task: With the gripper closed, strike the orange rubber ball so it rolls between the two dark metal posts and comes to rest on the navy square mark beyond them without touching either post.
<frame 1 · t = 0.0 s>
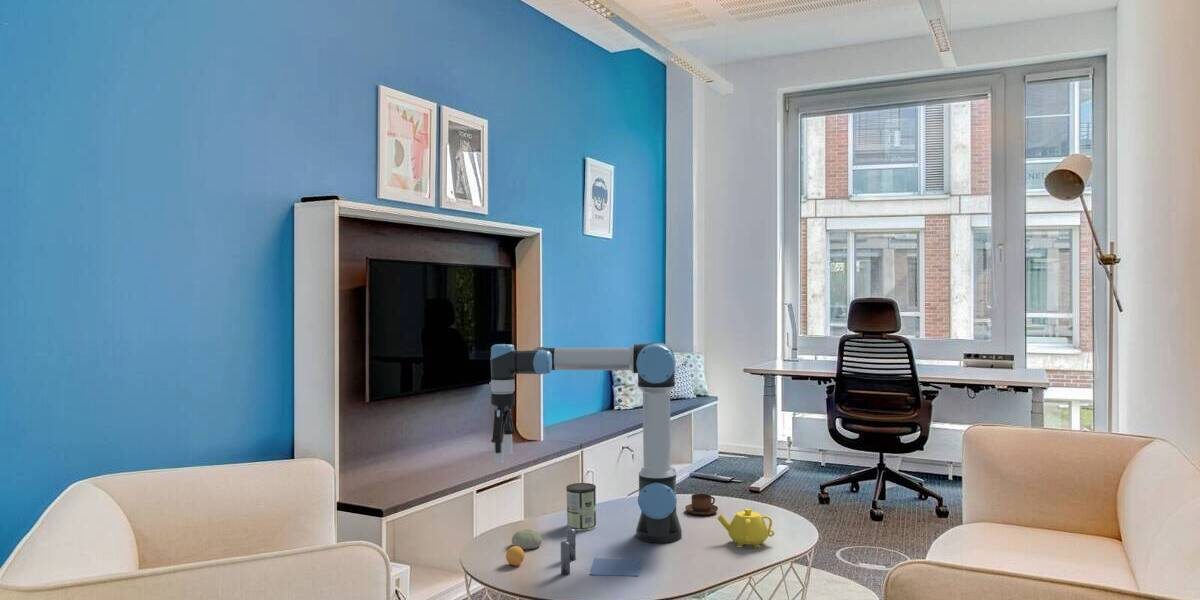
hand: (503, 458, 253), 28 cm above the table, tool pointing down, fingers open, 13 cm apart
post 2: (571, 559, 239), on the table
post 1: (565, 573, 227), on the table
ball: (515, 555, 234), on the table
cup and saucer: (701, 513, 290), on the table
teapot: (745, 543, 254), on the table
coffee can: (581, 527, 273), on the table
sea urchin shell: (526, 547, 252), on the table
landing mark: (615, 567, 232), on the table
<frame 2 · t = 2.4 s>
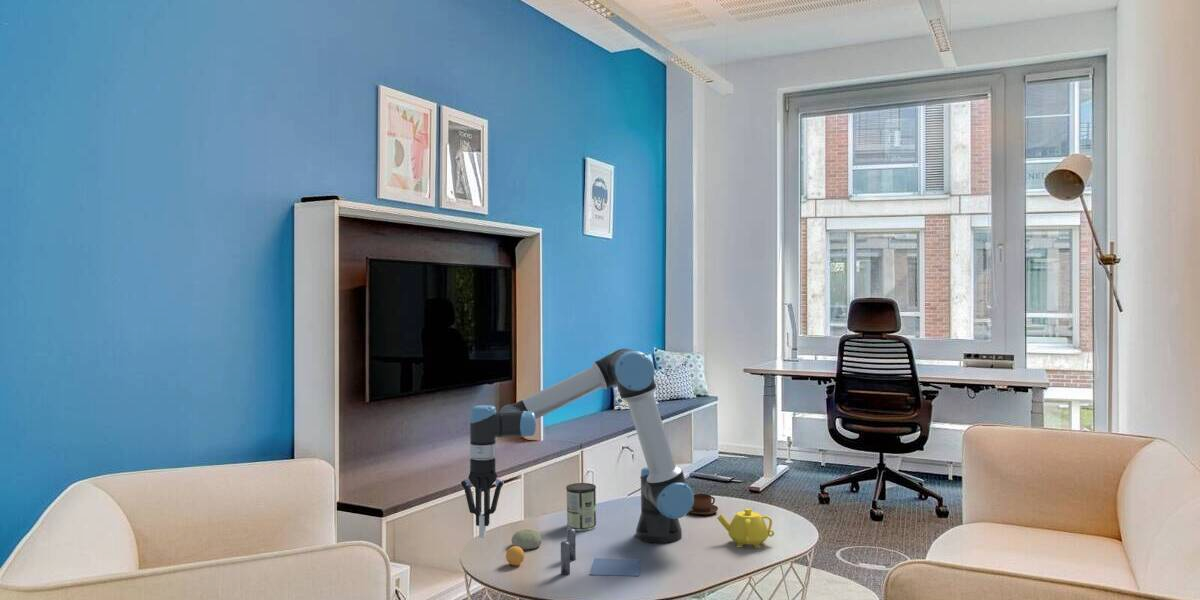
hand: (482, 536, 235), 8 cm above the table, tool pointing down, fingers closed
nothing on the table moved.
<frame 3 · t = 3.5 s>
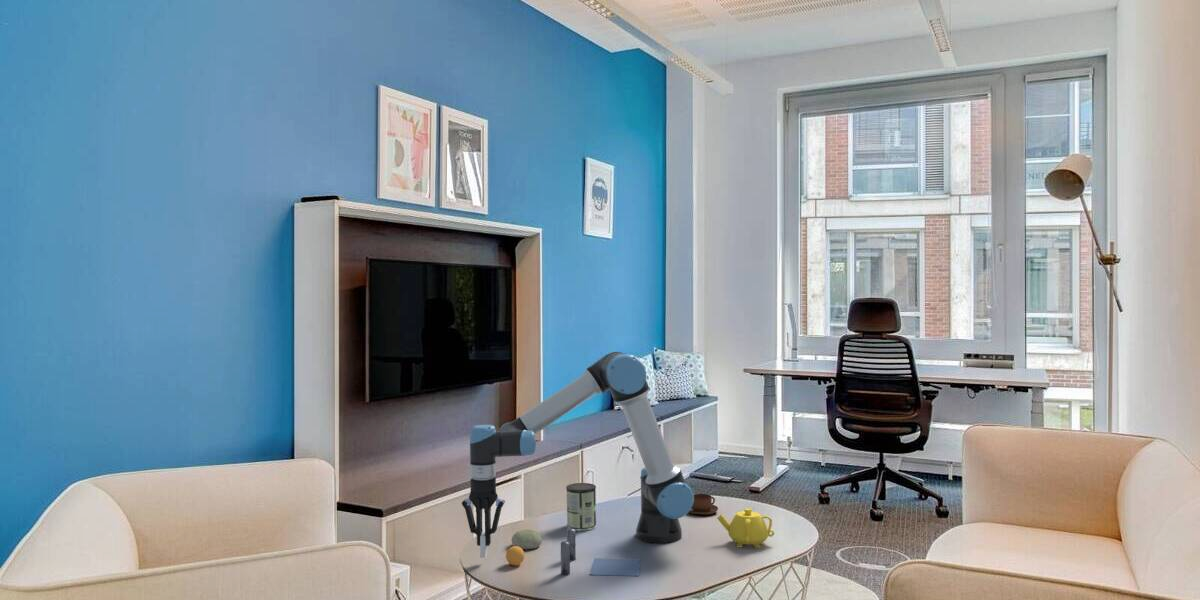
hand: (483, 556, 235), 2 cm above the table, tool pointing down, fingers closed
nothing on the table moved.
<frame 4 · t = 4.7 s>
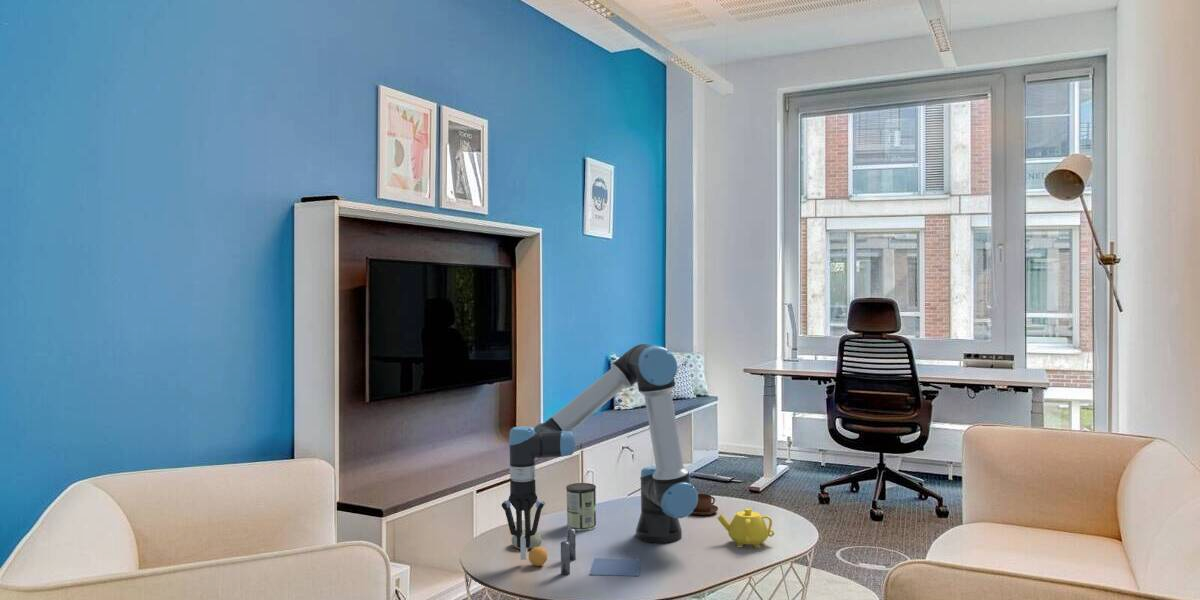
hand: (524, 558, 234), 2 cm above the table, tool pointing down, fingers closed
ball: (538, 556, 234), on the table
everything else where it was.
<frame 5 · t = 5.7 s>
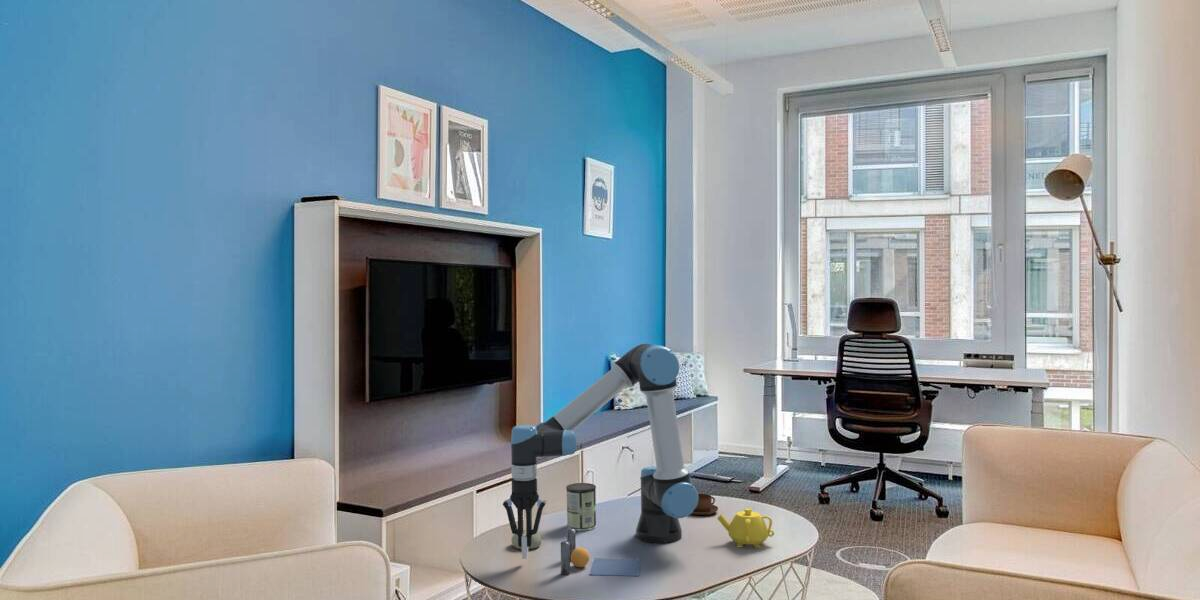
hand: (525, 557, 234), 2 cm above the table, tool pointing down, fingers closed
ball: (579, 557, 232), on the table
everything else where it was.
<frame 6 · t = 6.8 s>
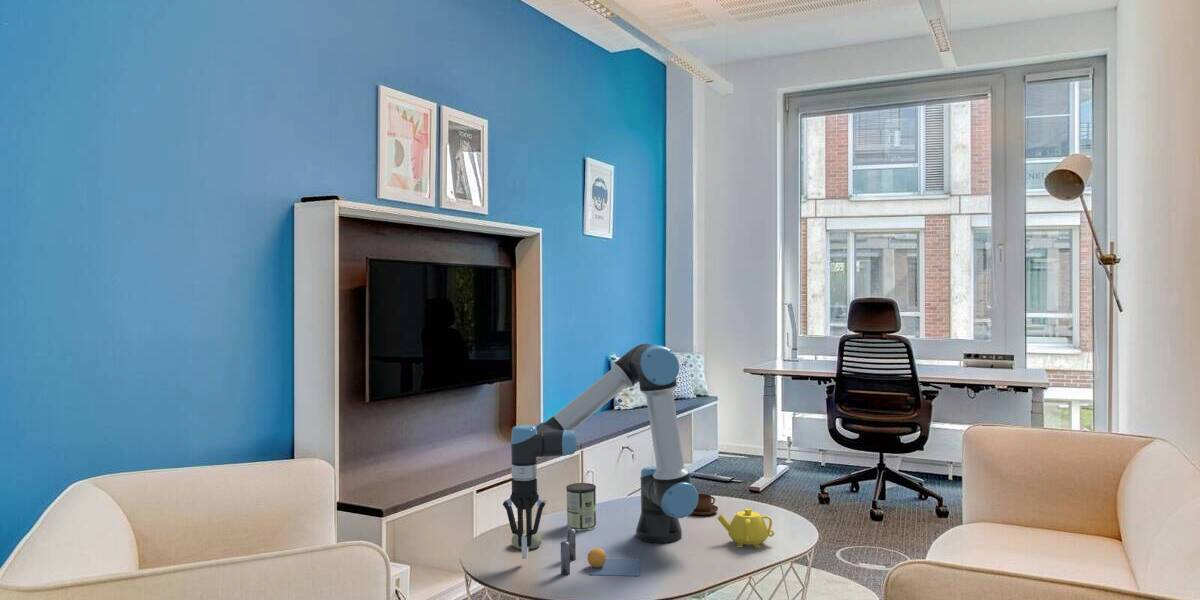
hand: (525, 557, 234), 2 cm above the table, tool pointing down, fingers closed
ball: (596, 557, 232), on the table
everything else where it was.
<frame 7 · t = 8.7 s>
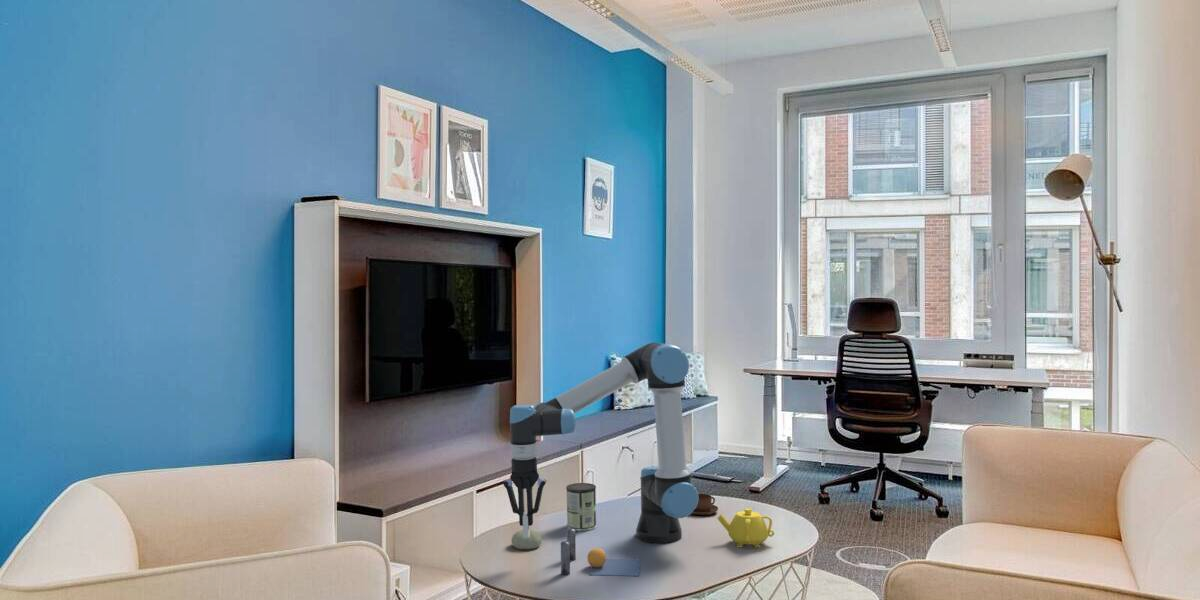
hand: (526, 536, 234), 9 cm above the table, tool pointing down, fingers closed
nothing on the table moved.
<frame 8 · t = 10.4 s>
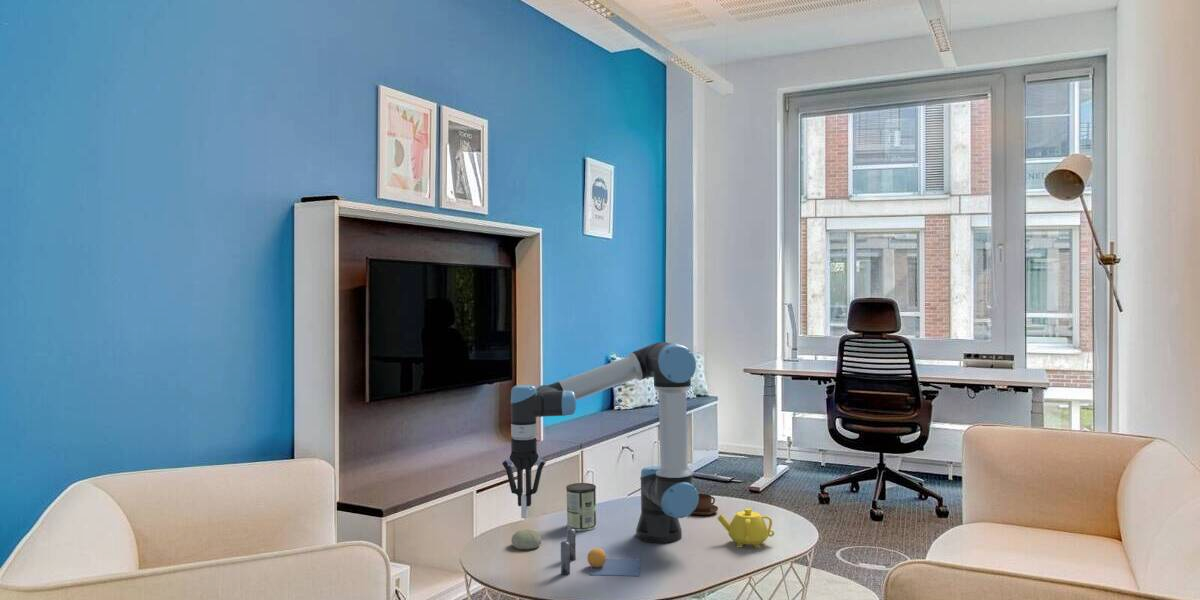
hand: (524, 516, 234), 14 cm above the table, tool pointing down, fingers closed
nothing on the table moved.
at the end: ball 5.5 cm from the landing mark (horizontally); ball never touched post 1; ball never touched post 2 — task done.
